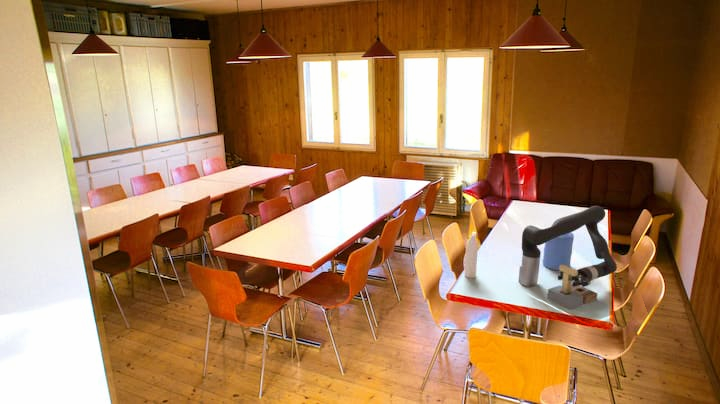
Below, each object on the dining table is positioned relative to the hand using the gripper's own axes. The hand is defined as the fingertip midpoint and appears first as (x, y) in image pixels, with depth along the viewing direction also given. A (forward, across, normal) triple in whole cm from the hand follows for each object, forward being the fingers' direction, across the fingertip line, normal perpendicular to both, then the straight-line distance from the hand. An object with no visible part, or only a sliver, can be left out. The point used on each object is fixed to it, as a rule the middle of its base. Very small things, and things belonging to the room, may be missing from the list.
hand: (565, 281), depth 241 cm
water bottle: (+17, -50, +13) cm, 54 cm away
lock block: (-12, 0, +12) cm, 18 cm away
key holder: (-1, 0, +12) cm, 13 cm away
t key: (-1, 0, +12) cm, 12 cm away
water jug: (-37, -34, +13) cm, 52 cm away
